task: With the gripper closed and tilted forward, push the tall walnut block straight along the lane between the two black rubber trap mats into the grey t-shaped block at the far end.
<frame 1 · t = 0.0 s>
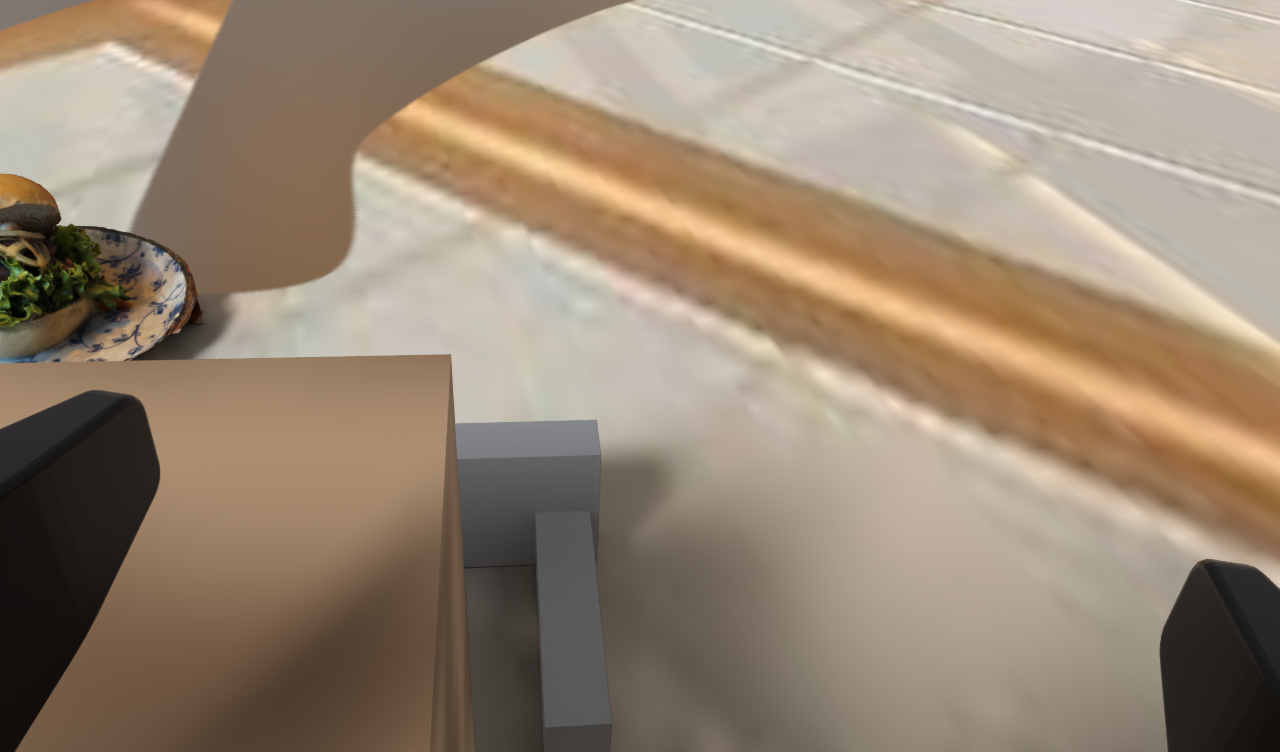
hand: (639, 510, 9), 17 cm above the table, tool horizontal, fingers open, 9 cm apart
burger: (30, 350, 40), on the table
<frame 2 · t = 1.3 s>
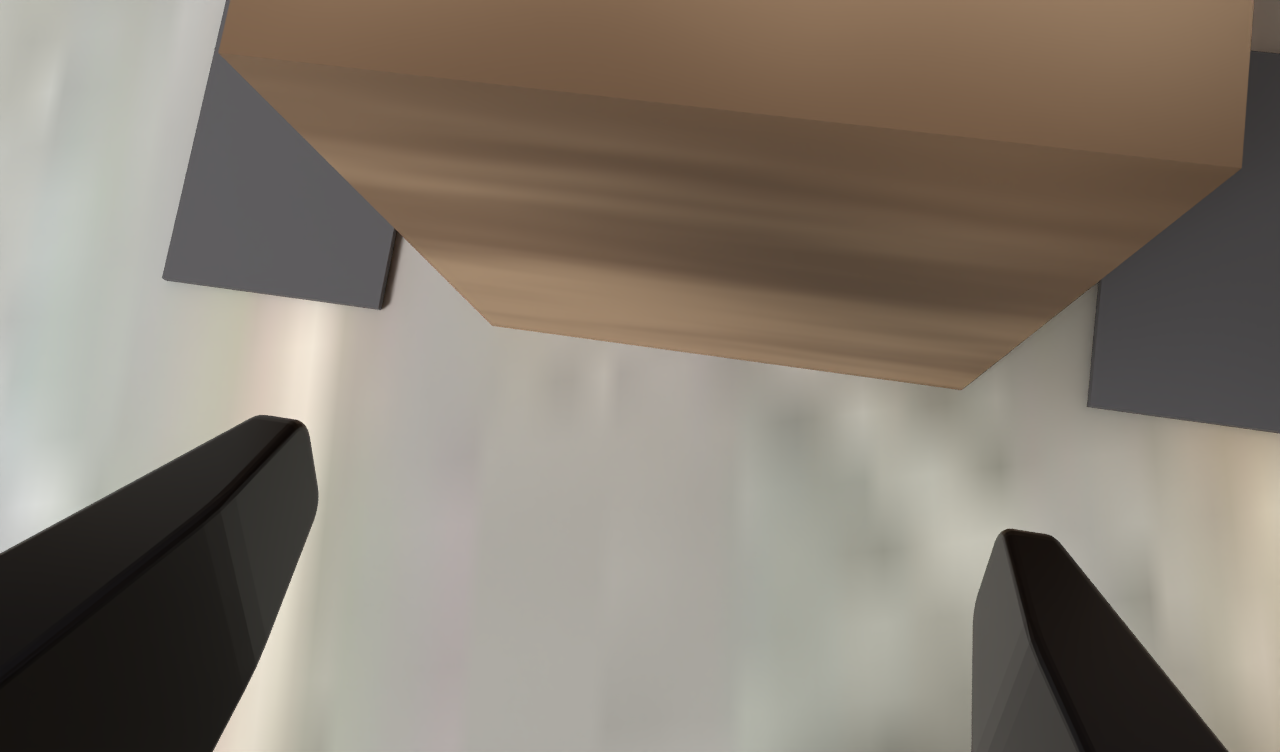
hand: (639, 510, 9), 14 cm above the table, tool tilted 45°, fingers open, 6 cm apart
walnut block: (760, 92, 24), on the table
trap mats: (748, 177, 24), on the table
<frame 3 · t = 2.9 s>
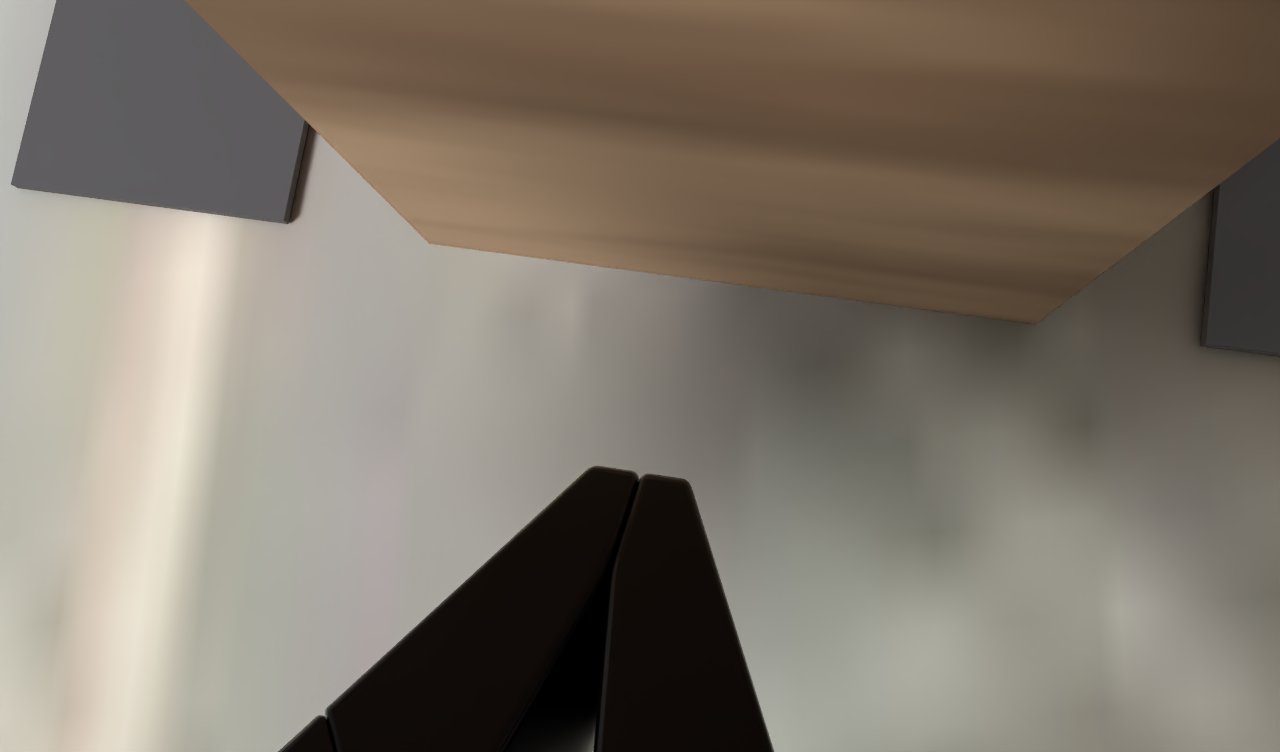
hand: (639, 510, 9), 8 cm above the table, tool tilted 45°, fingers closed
trap mats: (758, 52, 19), on the table
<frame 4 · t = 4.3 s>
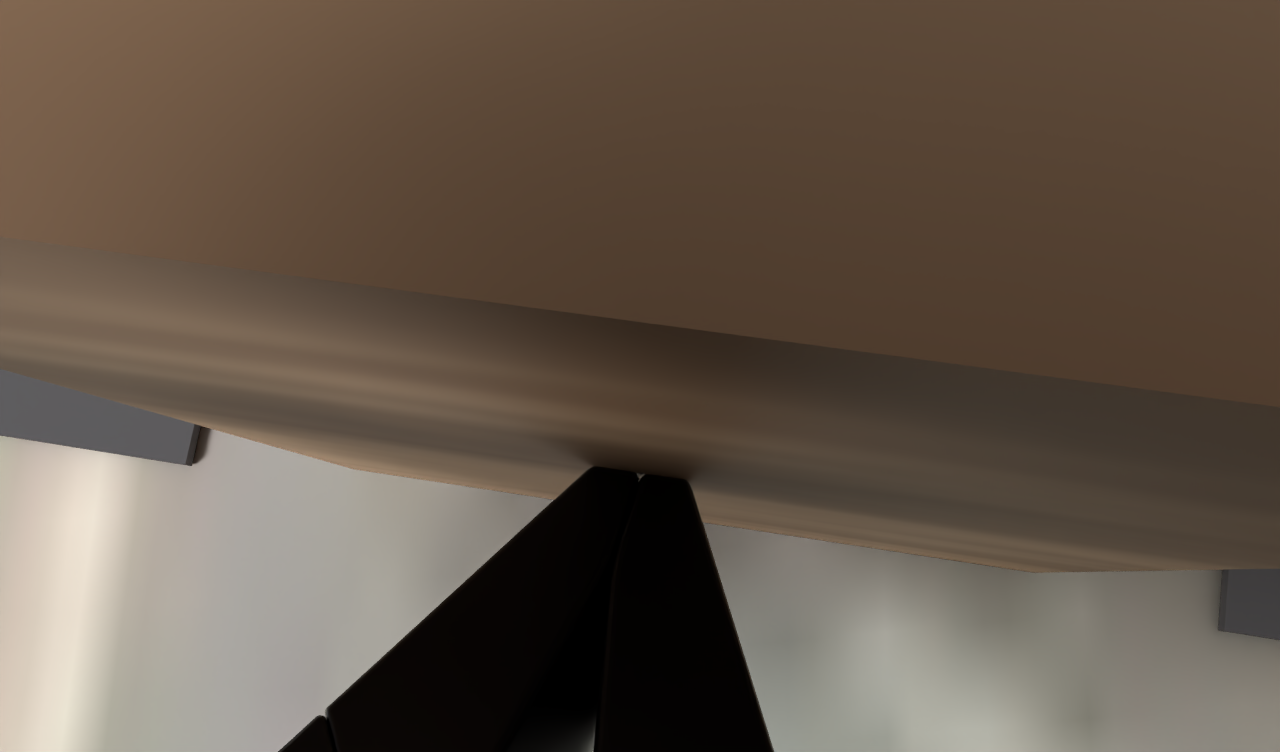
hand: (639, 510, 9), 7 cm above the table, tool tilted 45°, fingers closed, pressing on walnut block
walnut block: (739, 132, 17), on the table, touching gripper
trap mats: (719, 278, 17), on the table
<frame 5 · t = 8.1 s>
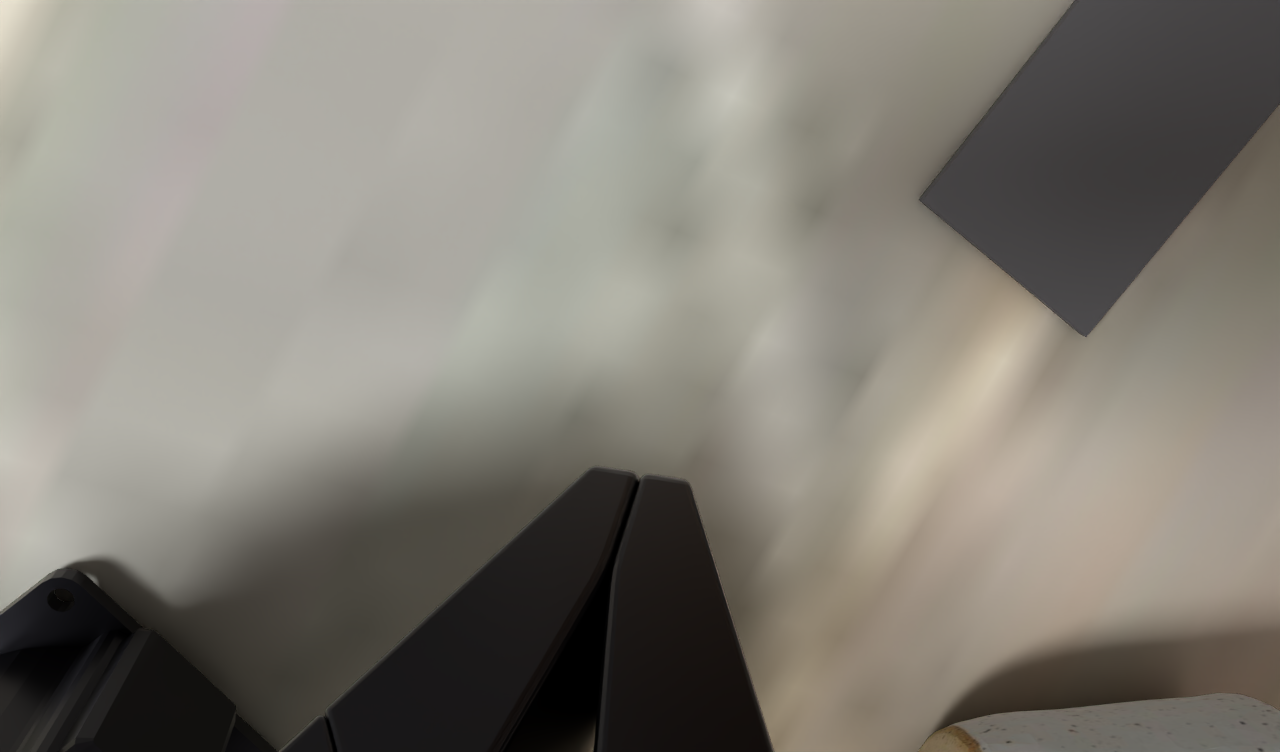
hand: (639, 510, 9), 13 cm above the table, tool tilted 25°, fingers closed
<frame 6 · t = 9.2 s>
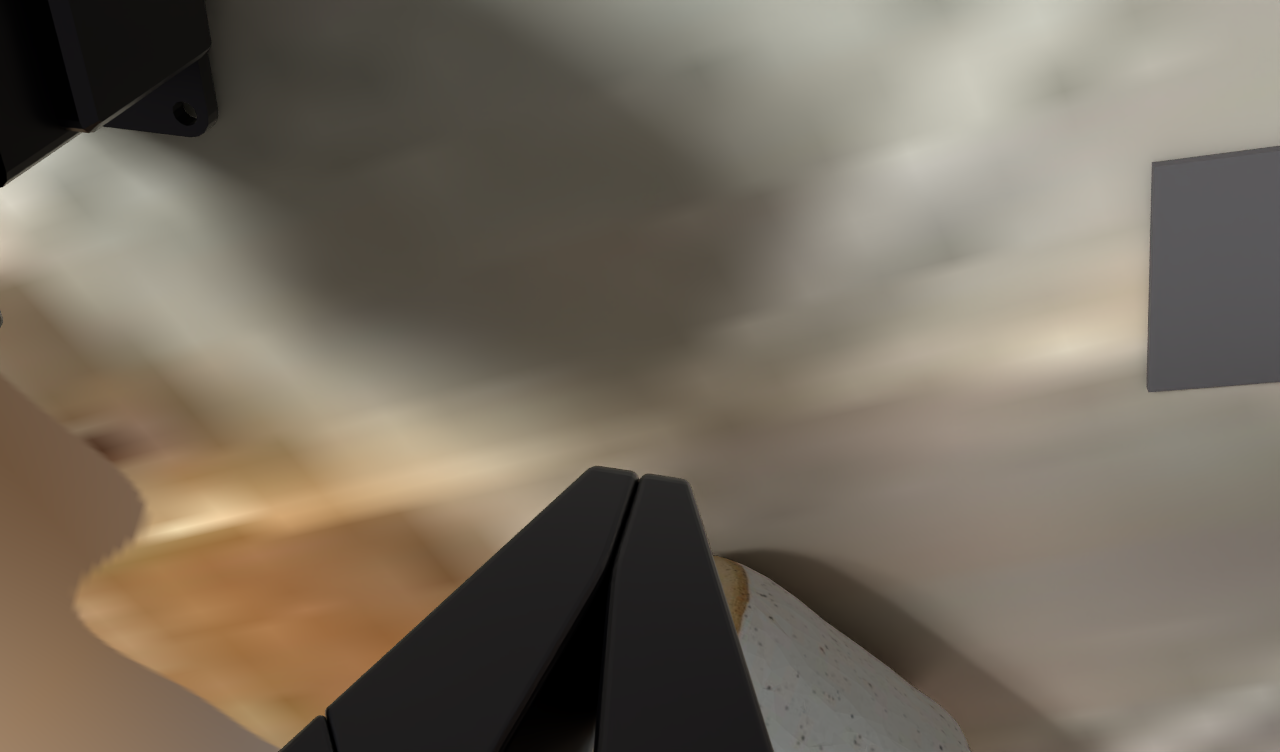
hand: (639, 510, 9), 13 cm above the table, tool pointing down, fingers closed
ceramic mug: (739, 659, 30), on the table
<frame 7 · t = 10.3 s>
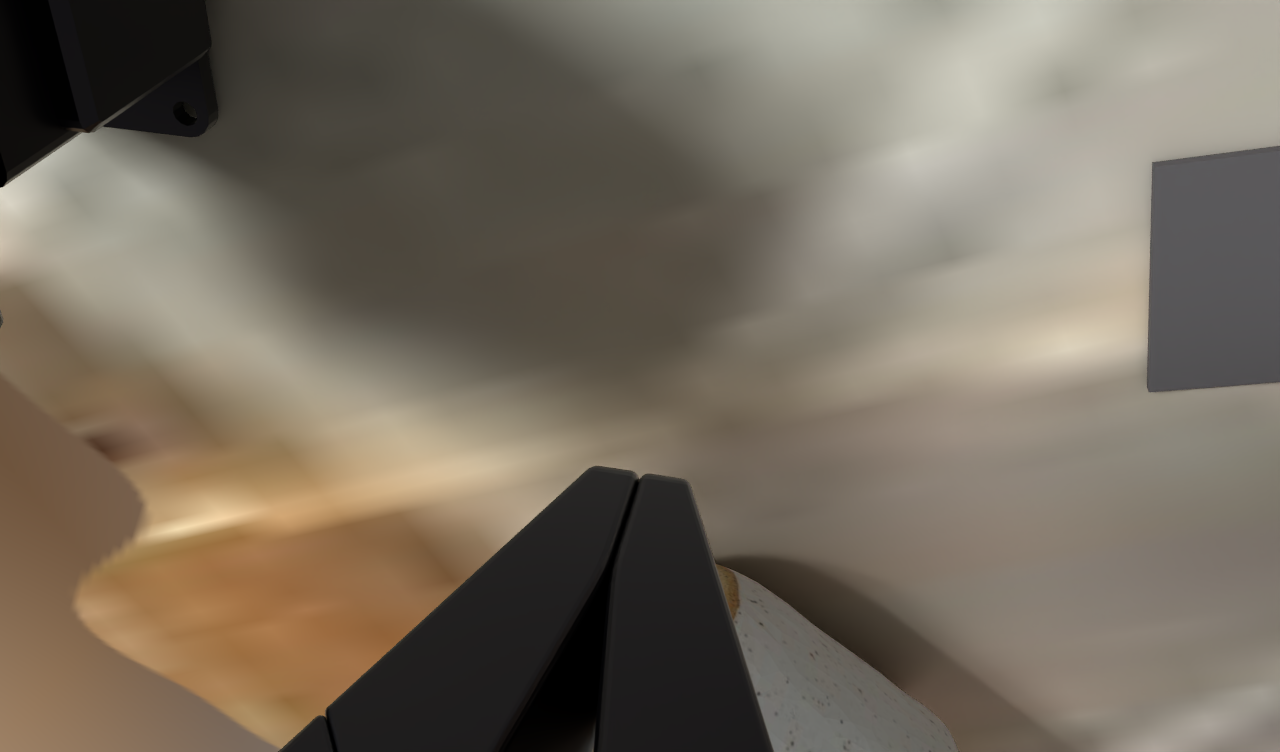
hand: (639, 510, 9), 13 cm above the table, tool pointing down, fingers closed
ceramic mug: (732, 664, 30), on the table
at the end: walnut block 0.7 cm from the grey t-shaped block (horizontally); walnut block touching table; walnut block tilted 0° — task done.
